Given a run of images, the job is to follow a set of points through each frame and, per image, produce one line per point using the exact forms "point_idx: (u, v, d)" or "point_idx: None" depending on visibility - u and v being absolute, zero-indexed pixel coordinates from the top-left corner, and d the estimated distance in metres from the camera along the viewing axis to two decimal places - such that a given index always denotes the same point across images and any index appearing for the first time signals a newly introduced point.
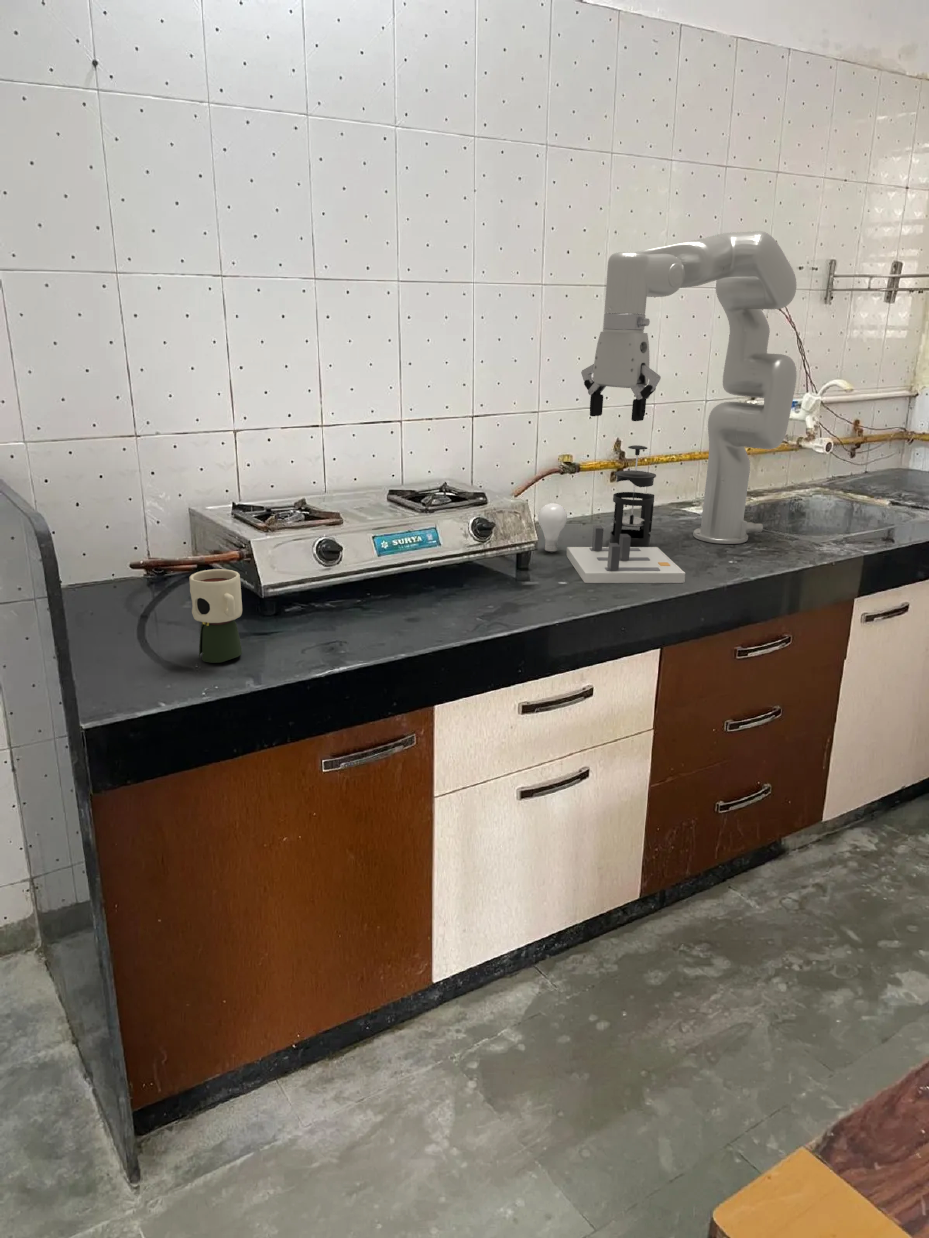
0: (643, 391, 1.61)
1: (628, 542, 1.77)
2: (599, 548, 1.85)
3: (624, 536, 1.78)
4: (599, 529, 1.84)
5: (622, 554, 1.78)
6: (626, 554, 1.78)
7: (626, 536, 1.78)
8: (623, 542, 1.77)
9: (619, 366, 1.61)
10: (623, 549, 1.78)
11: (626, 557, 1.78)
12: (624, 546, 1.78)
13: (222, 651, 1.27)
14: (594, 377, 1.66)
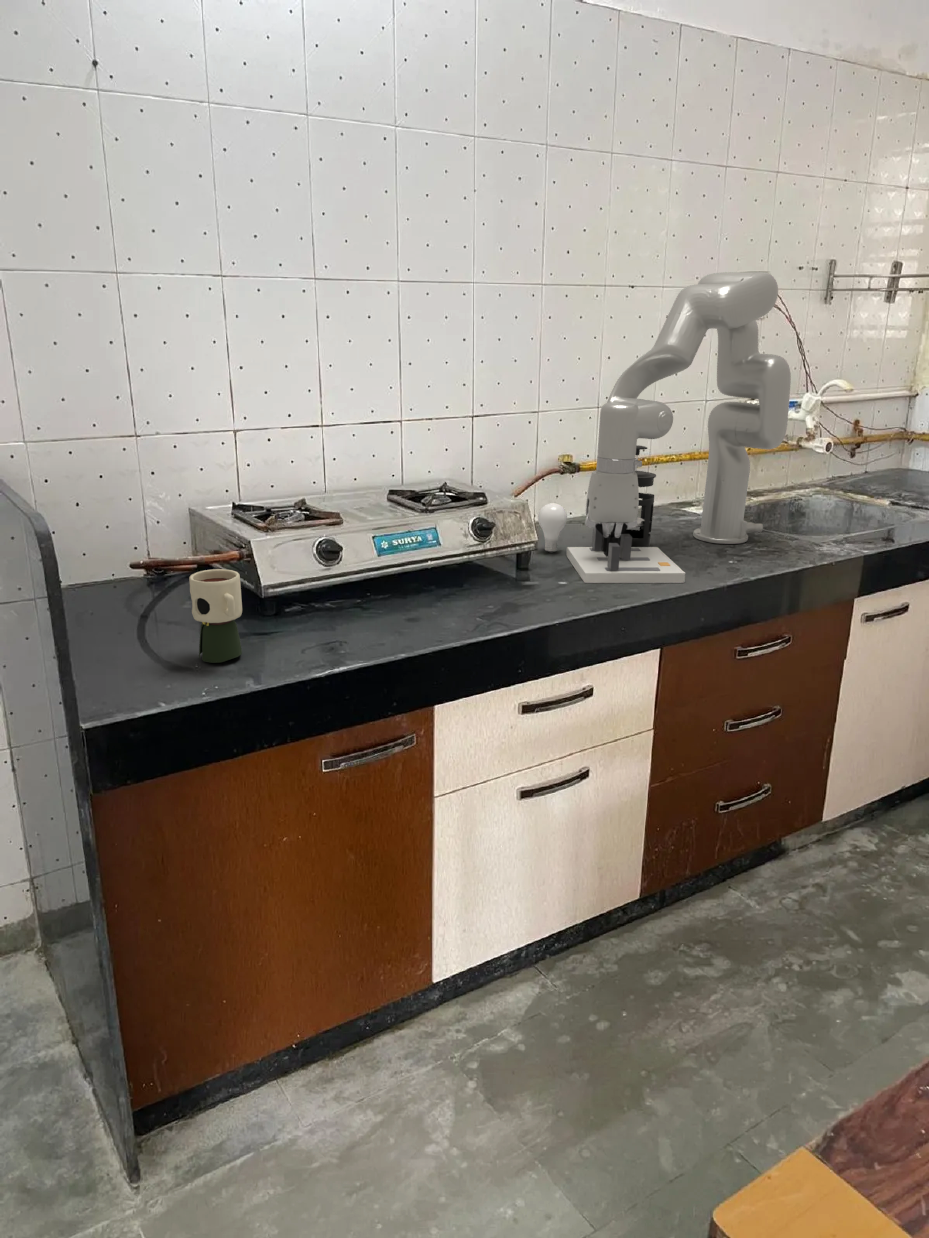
0: None
1: (629, 542, 1.77)
2: (599, 548, 1.85)
3: (625, 536, 1.78)
4: None
5: (623, 554, 1.78)
6: (628, 554, 1.78)
7: (627, 536, 1.78)
8: (624, 542, 1.77)
9: (622, 505, 1.74)
10: (624, 549, 1.78)
11: (627, 557, 1.78)
12: (625, 546, 1.78)
13: (222, 651, 1.27)
14: (592, 516, 1.74)
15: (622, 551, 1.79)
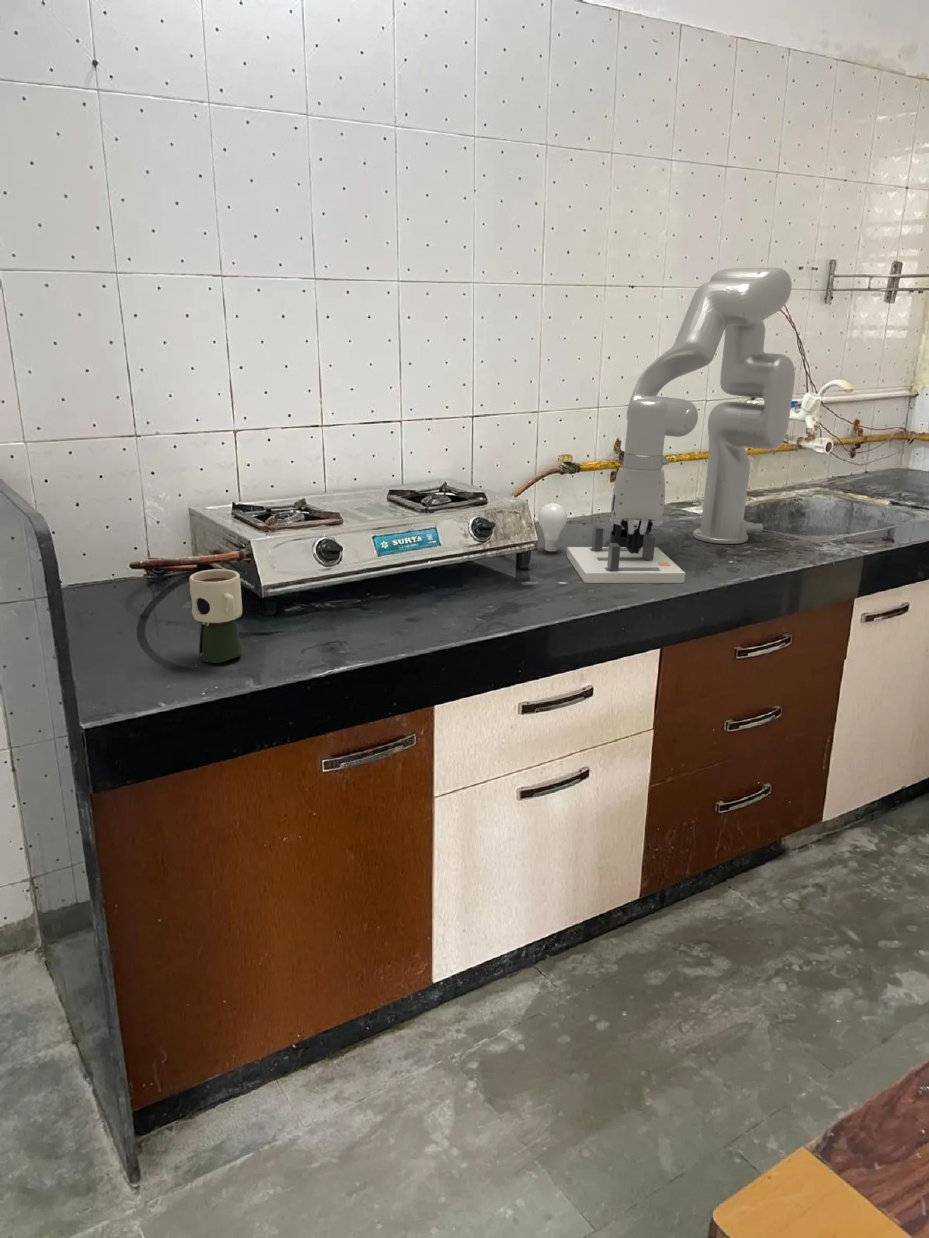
0: None
1: (652, 542, 1.78)
2: (599, 548, 1.85)
3: (648, 536, 1.78)
4: (599, 529, 1.84)
5: (646, 554, 1.79)
6: (651, 555, 1.79)
7: (650, 536, 1.78)
8: (647, 542, 1.78)
9: (649, 502, 1.74)
10: (647, 549, 1.78)
11: (650, 557, 1.79)
12: (648, 546, 1.78)
13: (222, 651, 1.27)
14: (618, 512, 1.75)
15: (645, 551, 1.79)
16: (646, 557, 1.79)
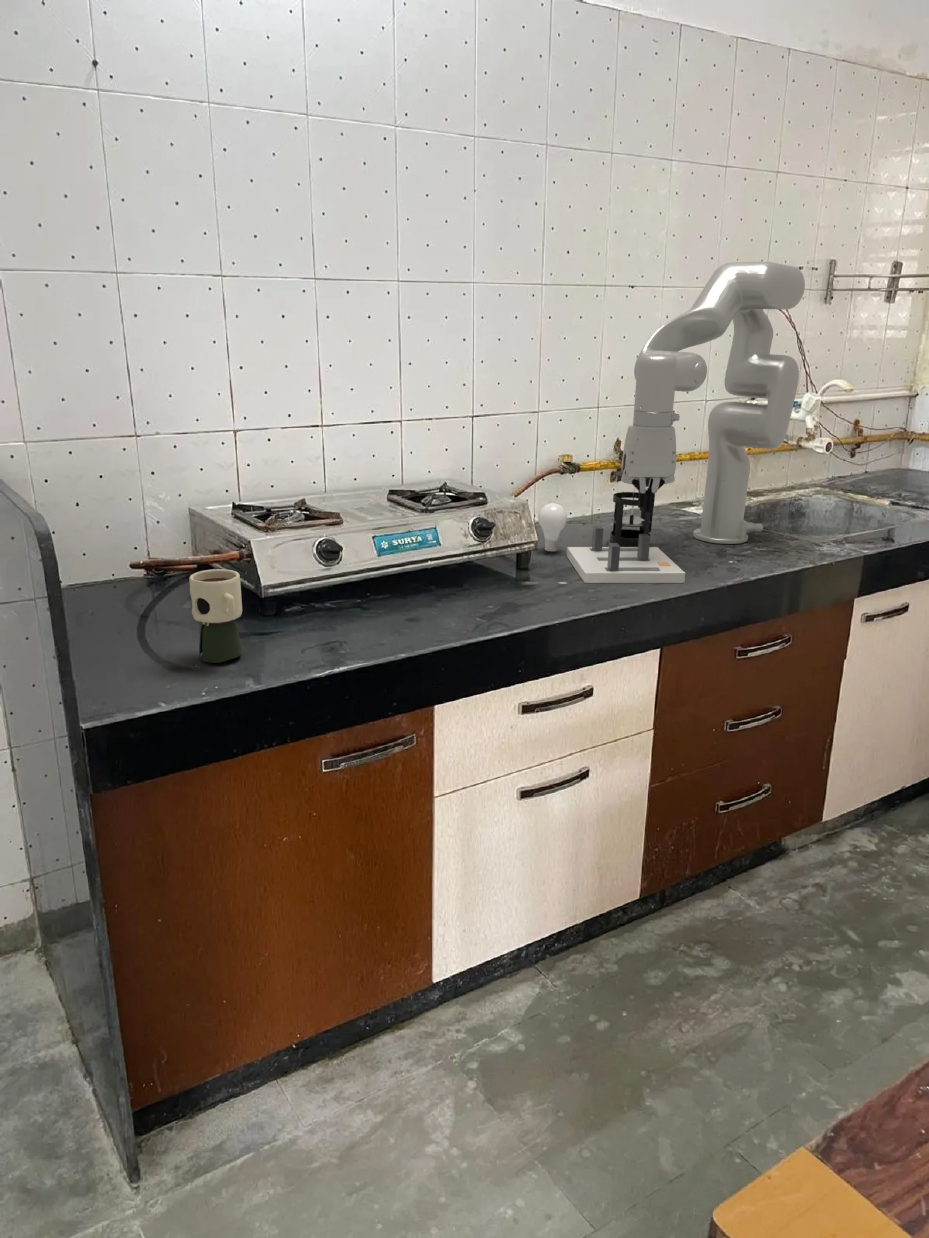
0: None
1: (647, 542, 1.78)
2: (599, 548, 1.85)
3: (643, 536, 1.78)
4: (599, 529, 1.84)
5: (641, 554, 1.79)
6: (646, 554, 1.79)
7: (645, 536, 1.78)
8: (642, 542, 1.78)
9: (660, 459, 1.71)
10: (642, 549, 1.78)
11: (645, 557, 1.79)
12: (643, 546, 1.78)
13: (222, 651, 1.27)
14: (629, 471, 1.72)
15: (640, 551, 1.79)
16: (641, 557, 1.79)
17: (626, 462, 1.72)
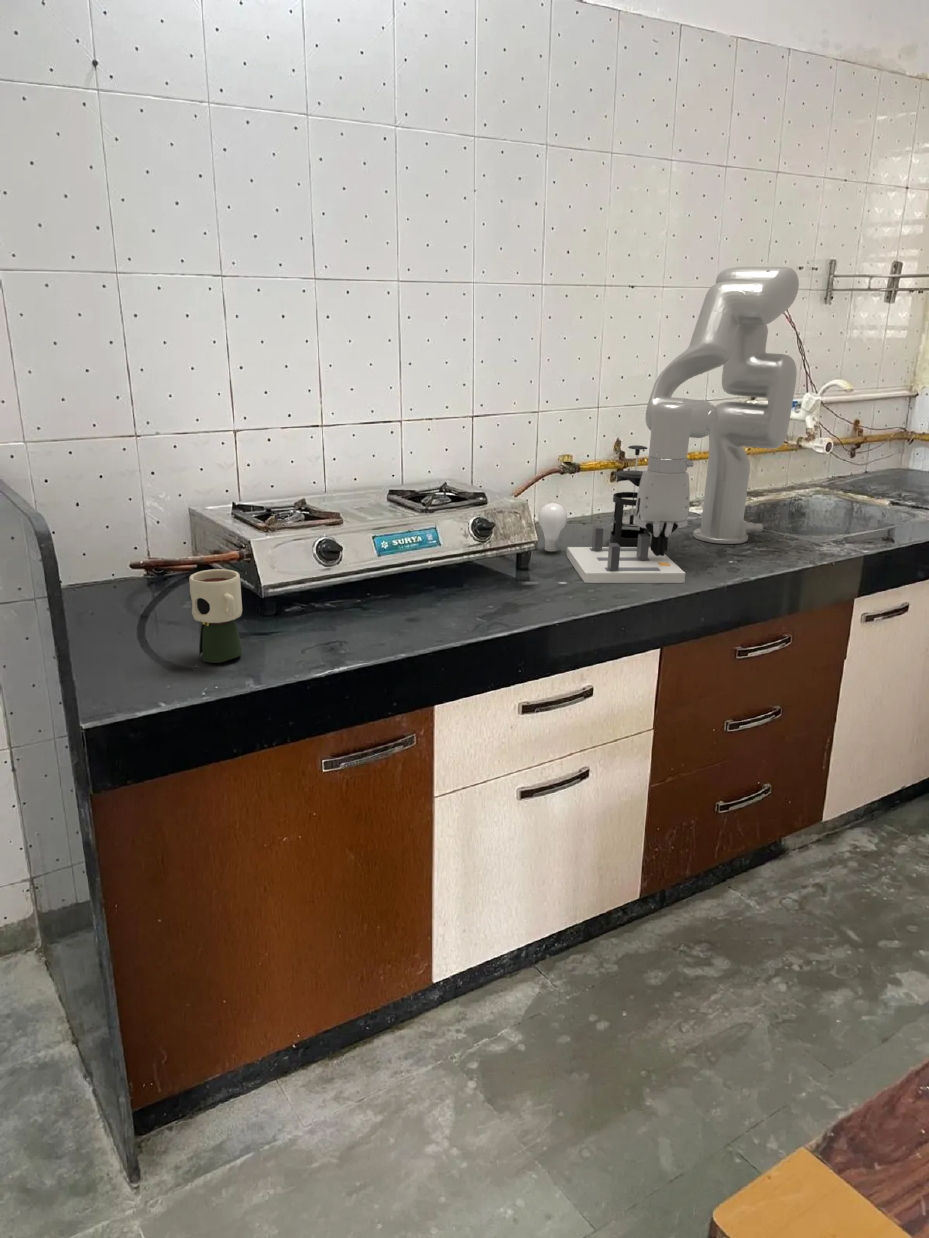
0: None
1: (647, 542, 1.78)
2: (599, 548, 1.85)
3: (643, 536, 1.78)
4: (599, 529, 1.84)
5: (641, 554, 1.79)
6: (645, 554, 1.79)
7: (645, 536, 1.78)
8: (642, 542, 1.78)
9: (674, 504, 1.74)
10: (641, 549, 1.78)
11: (645, 557, 1.79)
12: (642, 546, 1.78)
13: (222, 651, 1.27)
14: (643, 515, 1.75)
15: (639, 551, 1.79)
16: (640, 557, 1.79)
17: (640, 506, 1.75)
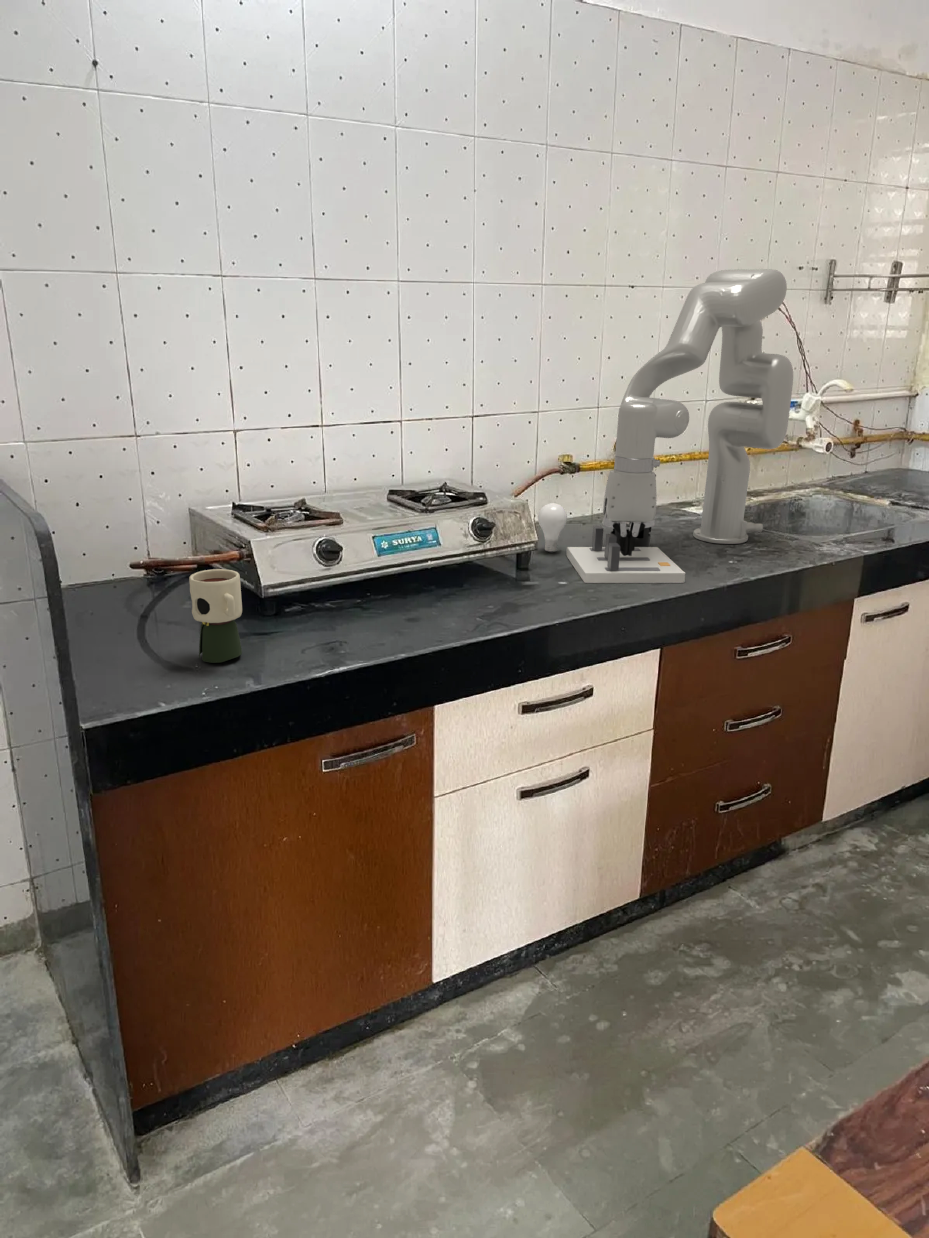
0: None
1: (614, 542, 1.77)
2: (599, 548, 1.85)
3: (610, 536, 1.77)
4: (599, 529, 1.84)
5: None
6: None
7: (612, 536, 1.77)
8: (609, 542, 1.77)
9: (640, 504, 1.74)
10: (608, 549, 1.78)
11: None
12: None
13: (222, 651, 1.27)
14: (610, 515, 1.75)
15: (607, 551, 1.78)
16: None
17: (607, 506, 1.75)
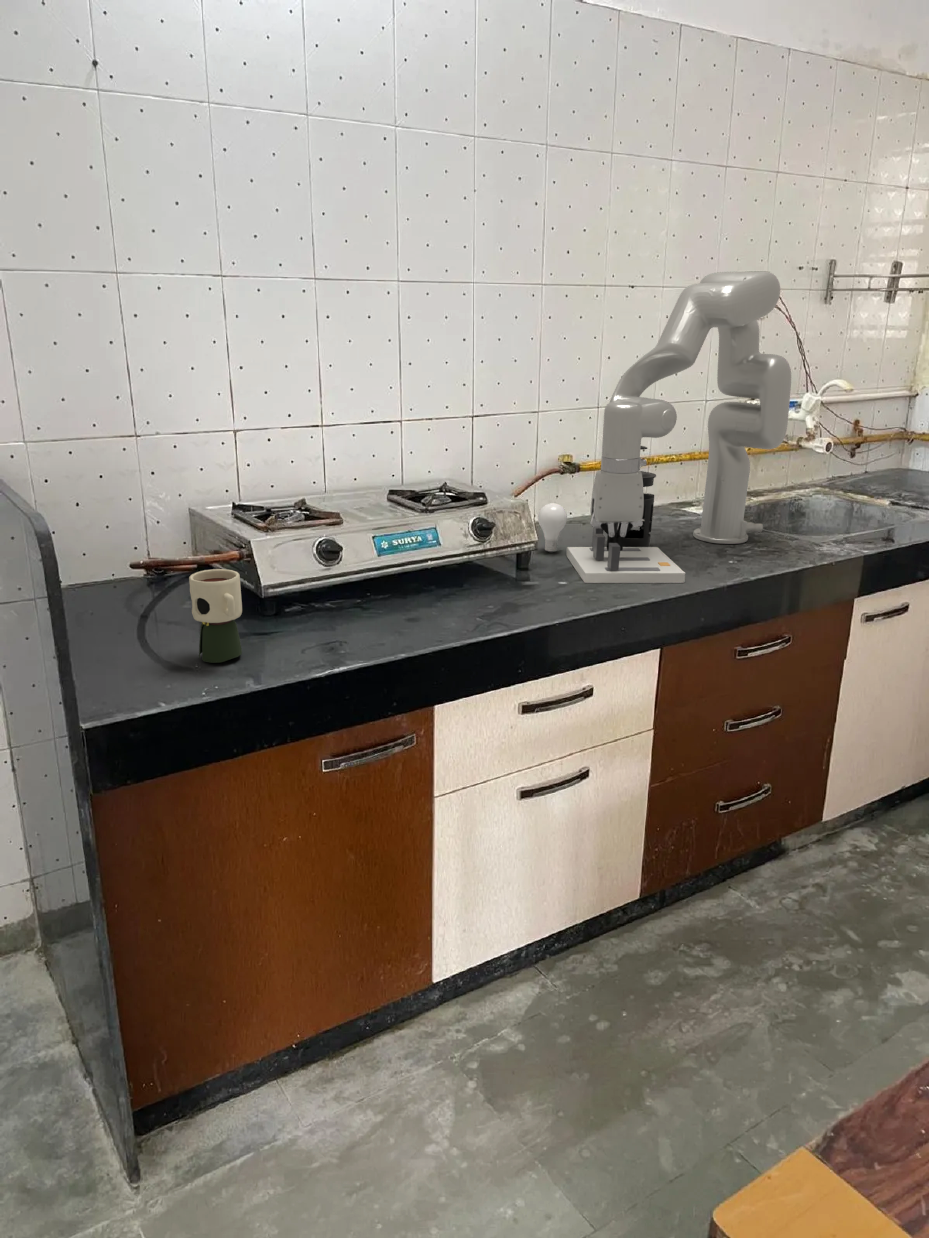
0: None
1: (602, 542, 1.77)
2: None
3: (598, 536, 1.77)
4: (599, 529, 1.84)
5: (597, 554, 1.78)
6: (601, 554, 1.78)
7: (600, 536, 1.77)
8: (597, 542, 1.77)
9: (628, 504, 1.74)
10: (597, 549, 1.77)
11: (601, 557, 1.78)
12: (598, 546, 1.77)
13: (222, 651, 1.27)
14: (598, 516, 1.74)
15: (595, 551, 1.78)
16: (596, 557, 1.78)
17: (594, 507, 1.74)
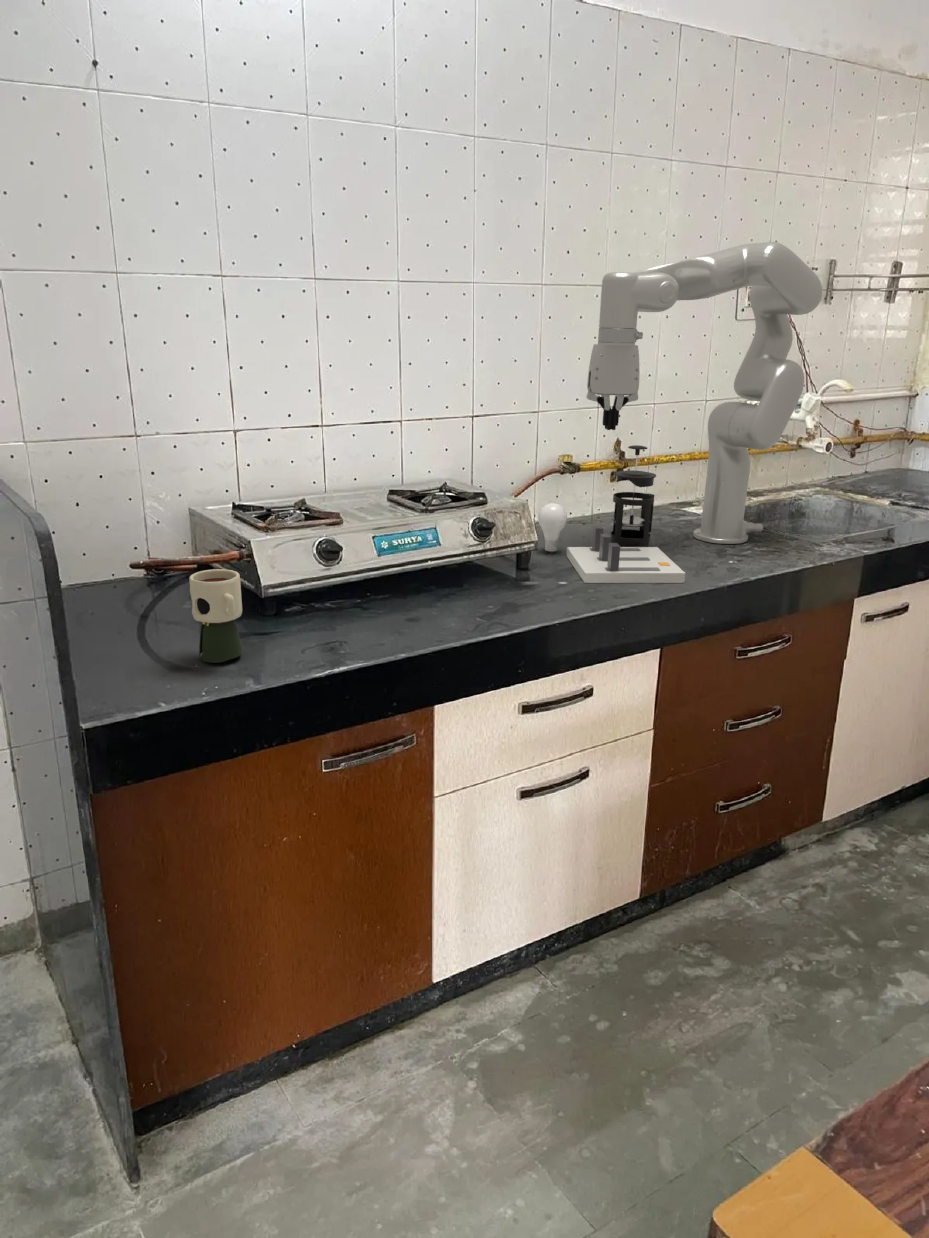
0: None
1: (608, 542, 1.77)
2: (599, 548, 1.85)
3: (604, 536, 1.77)
4: (599, 529, 1.84)
5: (603, 554, 1.78)
6: (607, 554, 1.78)
7: (606, 536, 1.77)
8: (603, 542, 1.77)
9: (624, 376, 1.77)
10: (603, 549, 1.78)
11: (607, 557, 1.78)
12: (604, 546, 1.77)
13: (222, 651, 1.27)
14: (594, 387, 1.78)
15: (601, 551, 1.78)
16: (602, 557, 1.78)
17: (591, 379, 1.78)
